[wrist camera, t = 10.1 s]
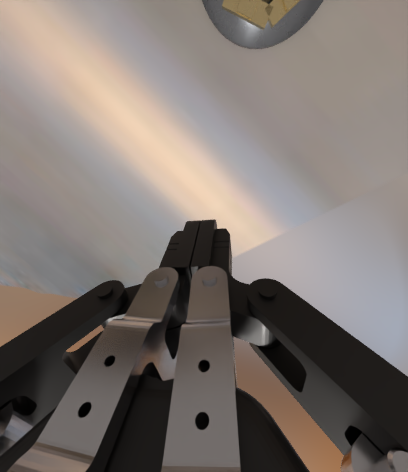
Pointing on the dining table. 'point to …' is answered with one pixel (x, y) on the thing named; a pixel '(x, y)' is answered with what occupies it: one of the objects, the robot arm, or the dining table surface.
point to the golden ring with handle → (259, 10)
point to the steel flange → (252, 35)
